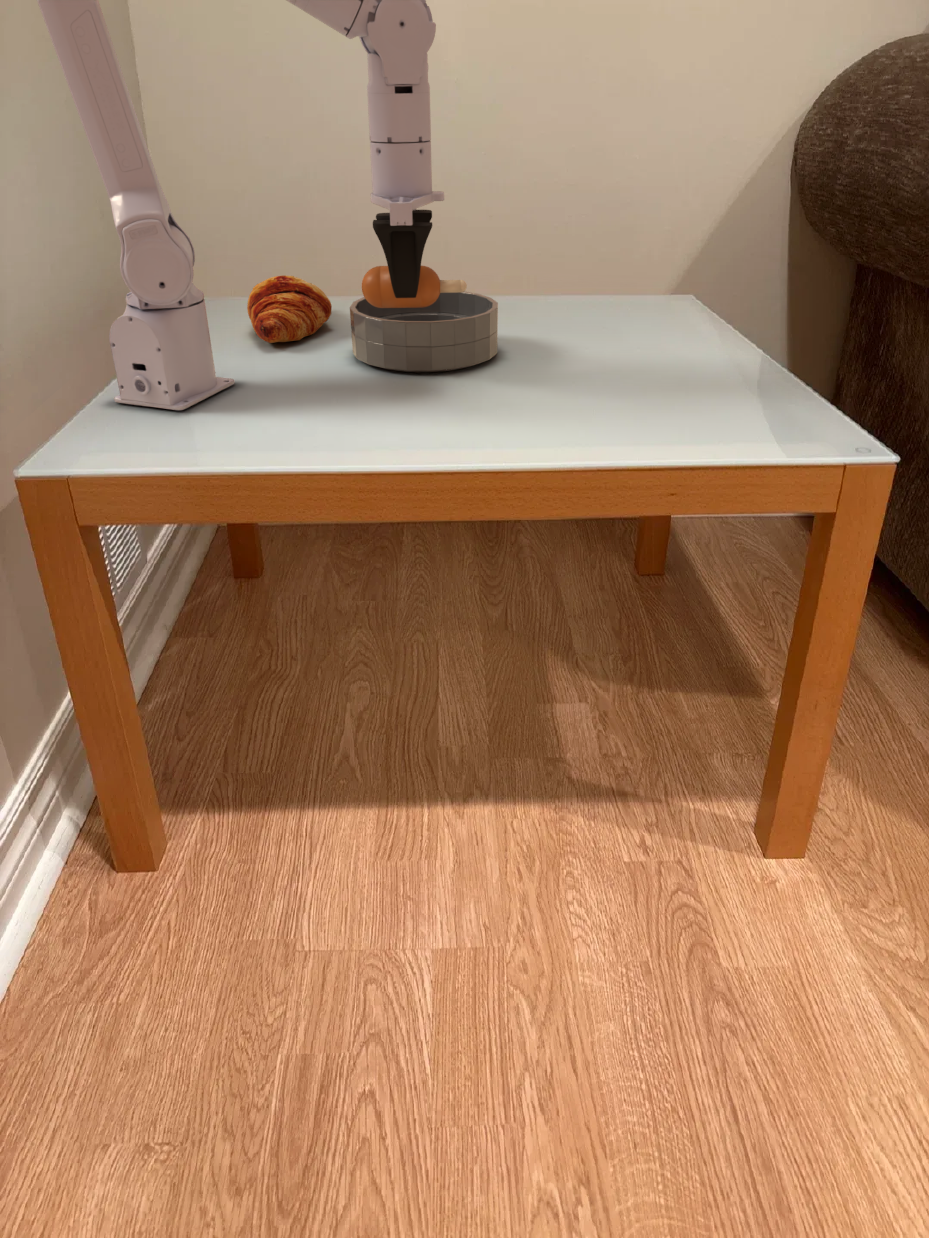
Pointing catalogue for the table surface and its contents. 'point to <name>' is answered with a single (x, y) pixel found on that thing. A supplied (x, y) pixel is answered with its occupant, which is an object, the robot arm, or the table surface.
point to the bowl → (426, 333)
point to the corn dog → (382, 296)
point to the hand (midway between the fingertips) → (406, 292)
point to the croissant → (287, 309)
